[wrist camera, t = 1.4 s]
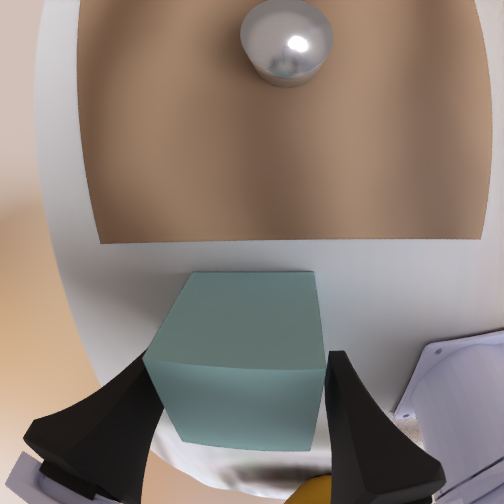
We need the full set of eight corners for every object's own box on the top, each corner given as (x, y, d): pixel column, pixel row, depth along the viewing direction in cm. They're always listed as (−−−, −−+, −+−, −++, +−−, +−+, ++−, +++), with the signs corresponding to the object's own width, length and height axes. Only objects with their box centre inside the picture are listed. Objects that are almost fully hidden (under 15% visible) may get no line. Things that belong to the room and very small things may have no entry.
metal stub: (317, 30, 8) (328, -2, 5) (322, 88, 9) (336, 74, 6) (250, 31, 8) (237, 1, 5) (255, 89, 9) (243, 76, 6)
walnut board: (451, -28, 5) (461, -36, 4) (468, 230, 11) (480, 239, 10) (95, -14, 8) (83, -20, 7) (112, 234, 14) (100, 243, 12)
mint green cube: (313, 271, 13) (326, 369, 8) (308, 359, 16) (310, 451, 10) (192, 271, 14) (142, 358, 9) (209, 356, 16) (182, 441, 11)
